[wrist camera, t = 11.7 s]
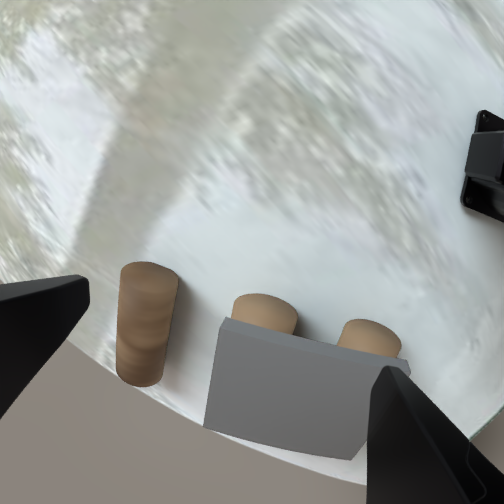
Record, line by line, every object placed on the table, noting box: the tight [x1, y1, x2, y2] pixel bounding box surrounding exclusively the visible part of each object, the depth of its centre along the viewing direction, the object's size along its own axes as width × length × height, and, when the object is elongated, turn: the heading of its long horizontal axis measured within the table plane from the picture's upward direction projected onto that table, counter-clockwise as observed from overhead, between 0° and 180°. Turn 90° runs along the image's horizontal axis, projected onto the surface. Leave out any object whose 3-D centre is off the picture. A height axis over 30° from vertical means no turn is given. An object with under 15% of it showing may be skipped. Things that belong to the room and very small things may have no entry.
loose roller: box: [116, 262, 179, 387], centre depth 22 cm, size 4×9×4 cm, turn 164°
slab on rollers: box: [203, 294, 411, 460], centre depth 20 cm, size 11×9×5 cm
